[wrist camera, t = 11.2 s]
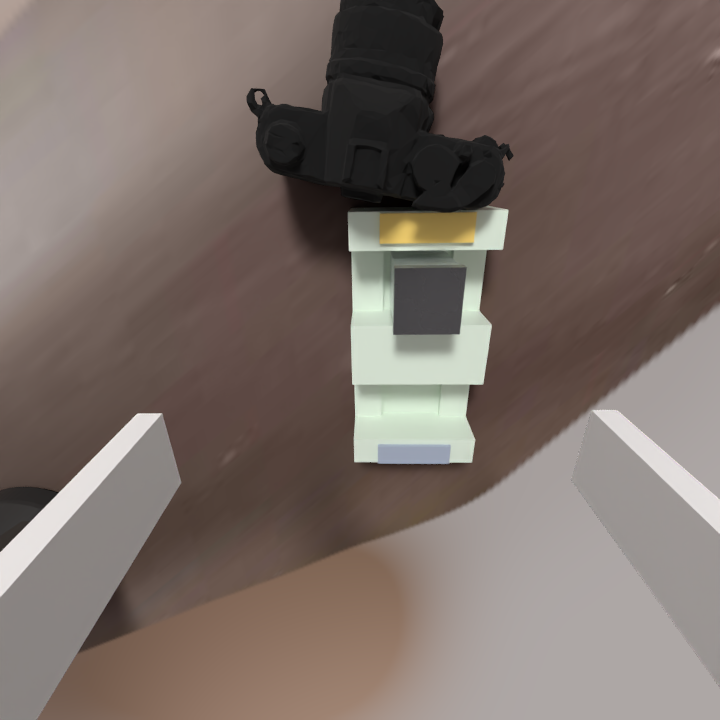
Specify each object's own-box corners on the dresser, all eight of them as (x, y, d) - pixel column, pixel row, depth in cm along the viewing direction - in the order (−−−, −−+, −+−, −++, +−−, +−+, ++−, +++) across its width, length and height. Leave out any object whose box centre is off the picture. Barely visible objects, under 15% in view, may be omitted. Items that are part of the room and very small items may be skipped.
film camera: (516, 57, 24) (592, -8, 16) (470, 217, 28) (511, 231, 20) (279, 4, 23) (229, -94, 15) (267, 177, 27) (223, 174, 19)
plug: (388, 302, 30) (393, 334, 24) (389, 249, 28) (394, 268, 22) (440, 302, 30) (459, 334, 24) (444, 248, 28) (466, 267, 22)
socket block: (356, 429, 36) (354, 464, 32) (351, 207, 28) (347, 212, 23) (459, 430, 36) (472, 464, 31) (487, 205, 27) (510, 210, 23)
